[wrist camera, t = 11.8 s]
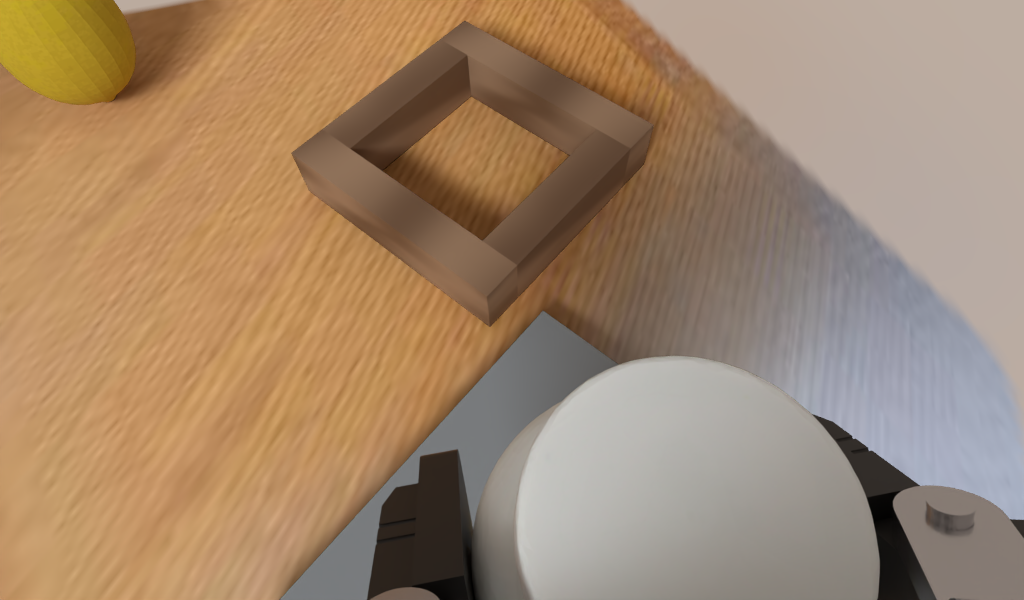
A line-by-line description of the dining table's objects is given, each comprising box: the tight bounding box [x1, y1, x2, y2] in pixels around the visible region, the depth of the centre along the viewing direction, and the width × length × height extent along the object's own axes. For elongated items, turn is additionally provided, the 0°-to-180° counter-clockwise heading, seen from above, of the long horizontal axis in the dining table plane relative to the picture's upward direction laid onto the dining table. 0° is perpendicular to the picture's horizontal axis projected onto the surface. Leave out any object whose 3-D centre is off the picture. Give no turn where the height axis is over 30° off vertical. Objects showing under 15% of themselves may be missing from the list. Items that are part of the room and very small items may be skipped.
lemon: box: [0, 0, 136, 105], centre depth 28 cm, size 6×6×8 cm
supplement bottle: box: [471, 356, 880, 600], centre depth 11 cm, size 5×5×10 cm
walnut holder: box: [292, 21, 654, 326], centre depth 27 cm, size 11×11×2 cm
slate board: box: [280, 311, 618, 600], centre depth 20 cm, size 14×14×1 cm
